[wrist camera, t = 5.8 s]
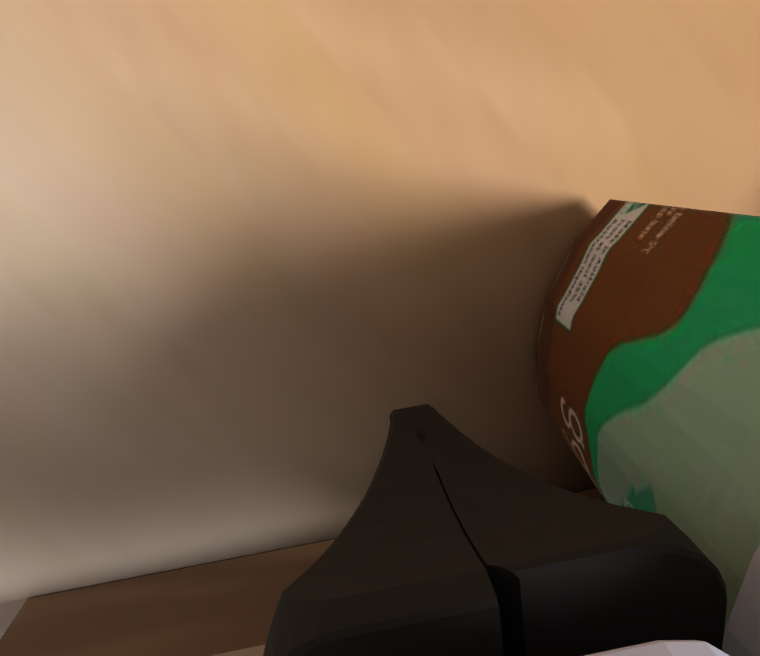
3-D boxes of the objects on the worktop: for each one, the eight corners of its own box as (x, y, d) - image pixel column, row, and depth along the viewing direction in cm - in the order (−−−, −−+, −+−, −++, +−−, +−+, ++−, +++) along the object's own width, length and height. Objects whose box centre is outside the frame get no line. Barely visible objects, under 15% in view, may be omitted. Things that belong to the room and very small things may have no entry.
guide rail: (886, 471, 16) (1007, 540, 13) (47, 637, 15) (-18, 749, 12) (955, 153, 13) (1133, 154, 10) (-105, 337, 12) (-242, 396, 9)
